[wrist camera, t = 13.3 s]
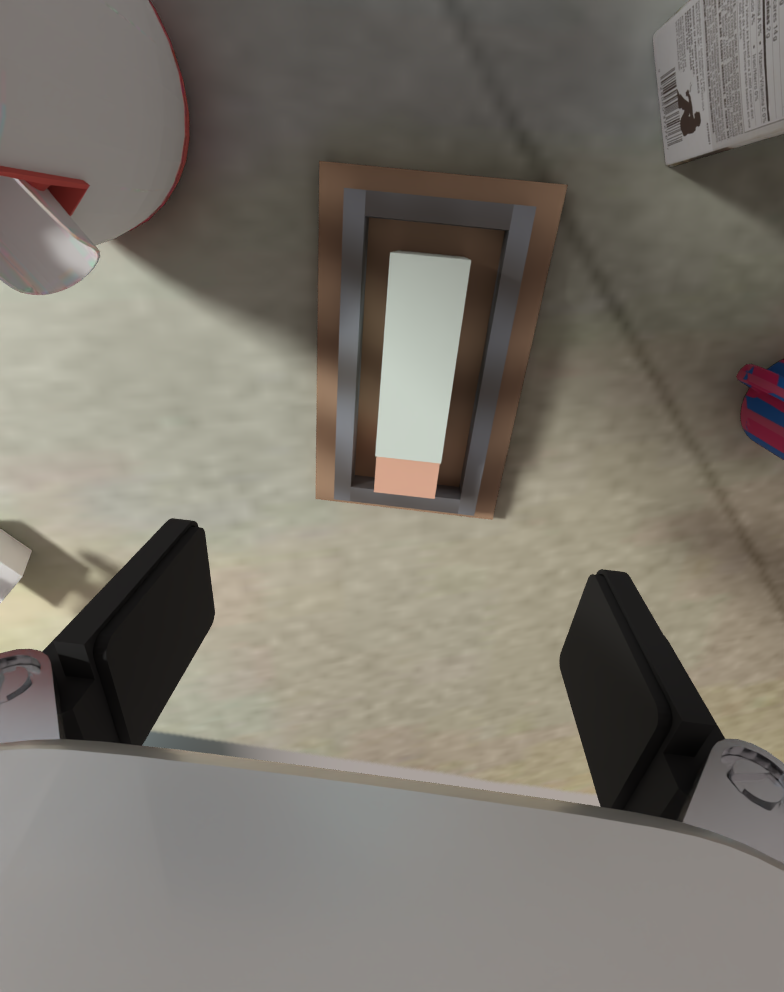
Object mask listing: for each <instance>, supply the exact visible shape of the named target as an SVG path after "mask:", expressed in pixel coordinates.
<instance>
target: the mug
mask: <svg viewBox="0 0 784 992" xmlns="http://www.w3.org/2000/svg"><path fill="white" fill-rule="evenodd" d="M736 377H737V380H739V381H740V382H742V383H744V384H745V385H747V386H748V387H750V388H749V390H748V392H747V394H746V396H745V398H744V401H743V403H742V407H741V424H742V427H743V429H744V431H745V433H746V435H747V436H748V437H749V438H750V439H751V440H753V441H754V442H756V443H757V444H759V445H761V446H762V447H764V448H765V449H767V450H769V451H770V452H772V453H773V454H775V455H776V456H778V457H780V458H781V459H783V460H784V359H783V360H781V361H779V362H777V363H776V364H774V365H772V366H771V367H770V368H768V369H764V368H762V367H759V366H756V365H753V364H746V365H745V366H744V367H743V368H742V369H741V370H740V371H739V372H738V374H737V376H736Z"/></svg>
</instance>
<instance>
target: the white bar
mask: <svg viewBox="0 0 784 992" xmlns="http://www.w3.org/2000/svg"><path fill="white" fill-rule="evenodd" d="M470 265H471V260H470V259H468V258H466V257H462V256H452V255H442V254H431V253H421V252H411V251H401V250H398V251H394V252H390V261H389V274H388V288H387V302H386V315H385V329H384V343H383V356H382V370H381V384H380V397H379V411H378V425H377V438H376V452H375V456H376V470H375V483H374V492H378V493H387V494H396V495H405V496H413V497H422V498H431V499H435V493H436V487H437V480H438V473H439V466H440V464H441V460H442V454H443V447H444V440H445V433H446V427H447V420H448V413H449V406H450V400H451V393H452V386H453V380H454V373H455V366H456V359H457V353H458V346H459V339H460V332H461V326H462V319H463V312H464V305H465V299H466V292H467V285H468V278H469V272H470Z"/></svg>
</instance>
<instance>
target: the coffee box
mask: <svg viewBox="0 0 784 992" xmlns="http://www.w3.org/2000/svg"><path fill="white" fill-rule="evenodd" d="M653 48H654V58H655V68H656V77H657V87H658V97H659V106H660V116H661V126H662V135H663V145H664V154H665V163H666V165H667V166H668V167H673V166H677V165H680V164H683V163H686V162H690V161H693V160H696V159H699V158H703V157H706V156H710V155H713V154H717V153H720V152H724V151H727V150H730V149H734V148H738V147H741V146H744V145H748V144H751V143H754V142H758V141H761V140H764V139H767V138H771V137H775V136H778V135H781V134H784V0H689V1H688V2H687V3H686V4H685V5H684V6H683V7H681V8H680V9H679V10H678V11H677V12H676V13H675V14H674V15H673V16H672V17H671V18H670V19H669V20H668V21H667V22H666V23H665V24H664V25H663V26H662V27H661V28H660V29H659V30H657V31H656V32H655V34H654V35H653Z"/></svg>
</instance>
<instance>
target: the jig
mask: <svg viewBox="0 0 784 992" xmlns="http://www.w3.org/2000/svg"><path fill="white" fill-rule="evenodd" d="M567 186H568V185H564V184H554V183H543V182H533V181H523V180H512V179H502V178H491V177H481V176H471V175H460V174H450V173H439V172H429V171H419V170H408V169H398V168H388V167H377V166H367V165H356V164H346V163H336V162H325V161H319V240H318V333H317V426H316V499H322V500H330V501H339V502H347V503H356V504H364V505H373V506H381V507H390V508H398V509H407V510H415V511H424V512H432V513H441V514H449V515H458V516H466V517H475V518H483V519H493V515H494V510H495V506H496V501H497V497H498V492H499V488H500V483H501V479H502V475H503V470H504V466H505V461H506V457H507V452H508V448H509V443H510V439H511V435H512V430H513V426H514V421H515V417H516V412H517V408H518V403H519V399H520V395H521V390H522V386H523V381H524V377H525V372H526V368H527V363H528V359H529V355H530V350H531V346H532V341H533V337H534V332H535V328H536V323H537V319H538V315H539V310H540V306H541V301H542V297H543V292H544V288H545V283H546V279H547V275H548V270H549V266H550V261H551V257H552V252H553V248H554V243H555V239H556V235H557V230H558V226H559V221H560V217H561V212H562V208H563V203H564V199H565V195H566V190H567ZM398 250H401V251H411V252H421V253H431V254H442V255H452V256H462V257H466V258H468V259H470V260H471V265H470V272H469V278H468V285H467V292H466V299H465V305H464V312H463V319H462V326H461V332H460V339H459V346H458V353H457V359H456V366H455V373H454V380H453V386H452V393H451V400H450V406H449V413H448V420H447V427H446V433H445V440H444V447H443V454H442V460H441V464H440V466H439V473H438V480H437V487H436V493H435V499H431V498H422V497H413V496H405V495H396V494H387V493H378V492H374V483H375V470H376V456H375V452H376V438H377V425H378V411H379V397H380V384H381V370H382V356H383V343H384V329H385V315H386V302H387V288H388V274H389V261H390V252H394V251H398Z"/></svg>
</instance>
